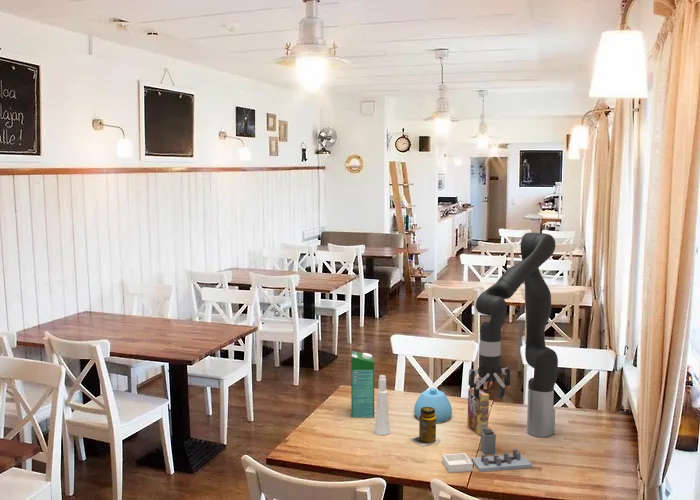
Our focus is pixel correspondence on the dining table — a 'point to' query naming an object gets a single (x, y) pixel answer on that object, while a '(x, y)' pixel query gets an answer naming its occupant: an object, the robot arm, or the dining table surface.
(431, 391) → the sugar bowl
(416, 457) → the dining table surface
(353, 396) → the milk carton
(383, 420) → the cosmetic bottle
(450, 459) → the white square tray
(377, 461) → the dining table surface
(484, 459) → the board
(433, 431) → the condiment
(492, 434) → the block
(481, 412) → the candy box
